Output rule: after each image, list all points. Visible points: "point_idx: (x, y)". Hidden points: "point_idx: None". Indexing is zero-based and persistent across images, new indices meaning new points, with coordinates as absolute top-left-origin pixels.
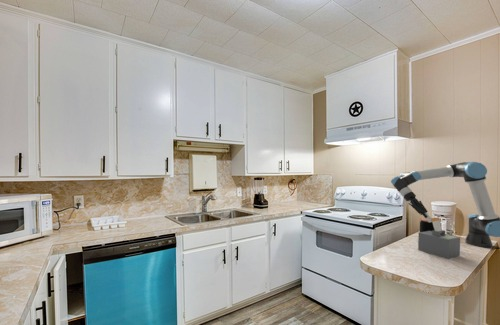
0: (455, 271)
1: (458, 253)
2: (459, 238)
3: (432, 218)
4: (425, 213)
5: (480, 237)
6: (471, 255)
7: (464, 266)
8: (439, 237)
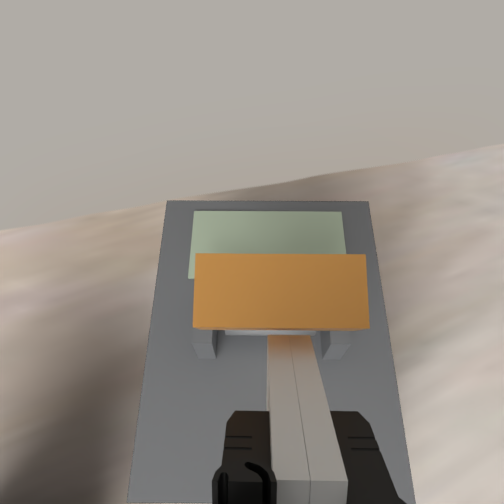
0: (500, 182)
1: None
2: (179, 203)
3: (365, 292)
4: (342, 475)
5: None
6: (99, 250)
7: (373, 192)
8: (368, 273)
